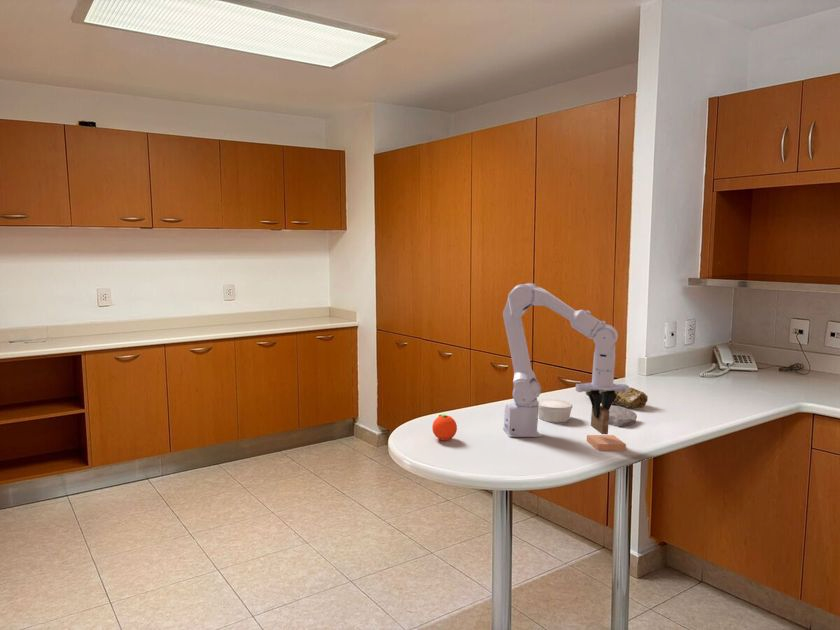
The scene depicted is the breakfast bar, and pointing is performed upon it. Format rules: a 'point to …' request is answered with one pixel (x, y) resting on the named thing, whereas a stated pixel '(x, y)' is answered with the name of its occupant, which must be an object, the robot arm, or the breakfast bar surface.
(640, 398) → the mossy brown rock
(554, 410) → the ramekin
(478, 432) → the breakfast bar surface
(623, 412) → the stone block
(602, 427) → the brown wooden block
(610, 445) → the terracotta tile
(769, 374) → the breakfast bar surface
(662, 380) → the breakfast bar surface
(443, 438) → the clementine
